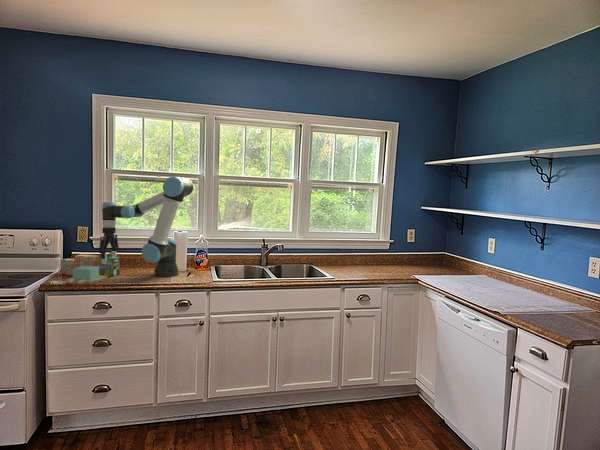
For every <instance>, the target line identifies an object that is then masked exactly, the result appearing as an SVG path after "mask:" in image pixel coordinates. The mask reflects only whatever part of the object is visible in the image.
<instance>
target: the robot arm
mask: <svg viewBox="0 0 600 450" xmlns="http://www.w3.org/2000/svg"><path fill="white" fill-rule="evenodd" d="M162 190H163V191H161V192H159V193H157V194H155V195H153V196H151V197H149V198H146V199H144V200H142V201H140V202H139V203H136V204H134V205H116V202H114V201H103V202H102V206H101V212H102V214H101V216H102V218H101V219H102V222H101V223H102V225H101V226H102V228H101V229H102V230H101V232H102V234H103V236H100V237H99V239H100V240H99V241H100V242H99V249H98V253H99V254H101V256H100V258H102V264H107V258H106V256H107V249H108V245H109V244H110V246H111V250H112V251H111V252H113V253H112V256H116V257H117V252H118V251H119V249H120V248H119V243H118V242H119V241H118V240H119V239H118V234H116V233H117V232H116V231H117V230H116V229H117V228H116V226H117V222H116V220H117V219H119V218H120V219H132V218H141V217H143V216H144V215H145V214H146V213H148V212H151V211H152V210H155V209H157V208H160V207H161V210H160V212H159V216H158V218H157V221H156V225H155V228H154V230H153V233H152V236H150V237H148V241H147V242H146V244H144V245H142V248H141V250H140V251H141V256H142V258H143V260H145V261H146V262H147V263H149V264H150V263H156V265H155V268H154V270H153V275H154V276H155V277H161V278H163V277H166V278H169V277H176V276H178V275H179V274H180V272H179V267H178V263H177V241H176V239H171V238H170V239H169V238H168V237H169V235H170V232H171V229H172V226H173V223H174V220H175V217H176V215H177V212H178V211H177V210H178V208H179V205H180V203H183V201H184V199H185V197H188V196H190V195H191V194H192V193H193V191H194V184H193V182H192V180H191V179H189V178H188V177H182V176H176V175H175V176H170V177H167V178H166V179H165V180H164V181H163V184H162ZM116 218H117V219H116Z"/></svg>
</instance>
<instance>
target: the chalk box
mask: <svg viewBox="0 0 600 450" xmlns="http://www.w3.org/2000/svg"><path fill="white" fill-rule="evenodd" d="M112 253H113V252H112V251H110V252H108V255H106V258H107V264H102V258H101V257H99V275H101V276H107V278H108V277H109V278H113V277H116V276H119V275H120V268H121V267H120V264H121V263H120V258H121V257H120V256H117V255H116V256H112Z"/></svg>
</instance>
